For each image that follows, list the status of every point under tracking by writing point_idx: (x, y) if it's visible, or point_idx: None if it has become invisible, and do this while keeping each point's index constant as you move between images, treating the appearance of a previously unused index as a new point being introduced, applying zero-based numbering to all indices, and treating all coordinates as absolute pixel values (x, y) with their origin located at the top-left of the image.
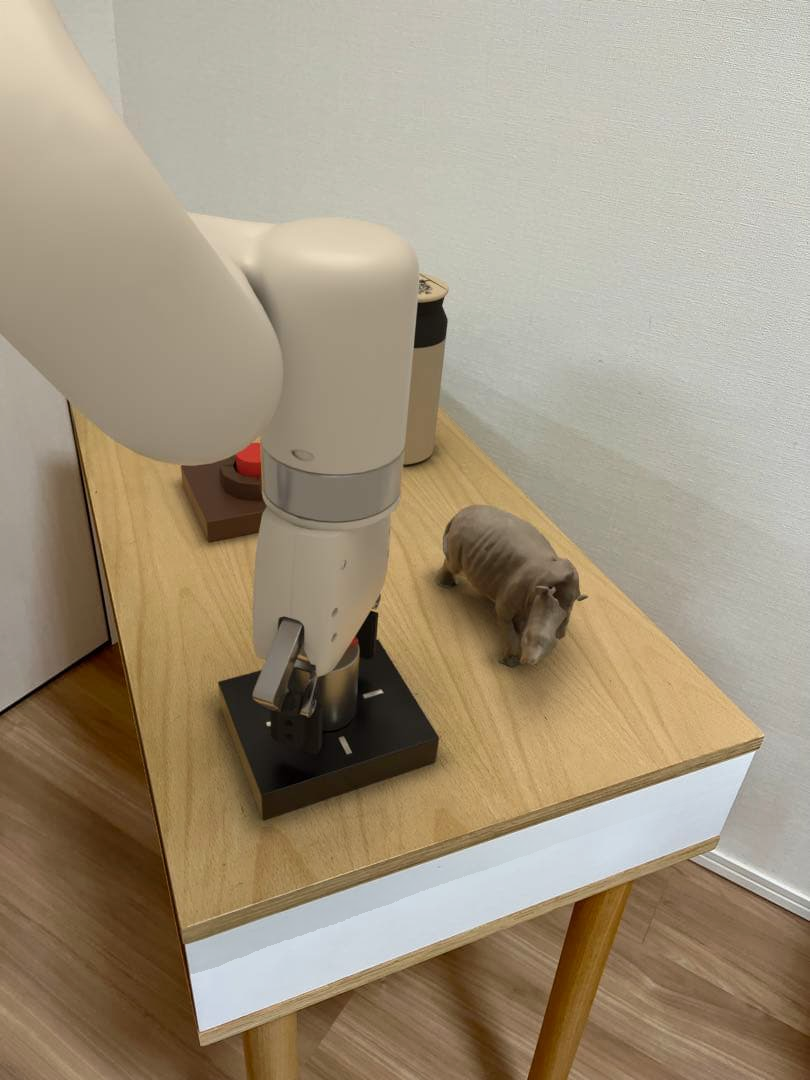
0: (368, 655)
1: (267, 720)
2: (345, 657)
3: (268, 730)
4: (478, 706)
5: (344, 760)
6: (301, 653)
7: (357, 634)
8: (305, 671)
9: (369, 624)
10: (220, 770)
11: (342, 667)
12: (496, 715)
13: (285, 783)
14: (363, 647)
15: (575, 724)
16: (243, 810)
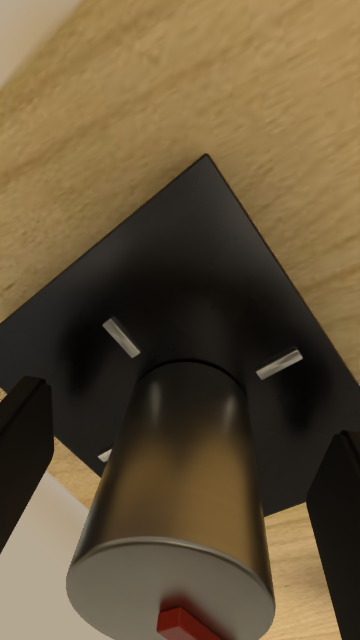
0: (310, 507)
1: (122, 316)
2: (147, 637)
3: (97, 326)
4: (294, 533)
5: (88, 451)
6: (116, 556)
7: (336, 547)
8: (79, 540)
9: (342, 625)
10: (59, 222)
11: (106, 633)
12: (281, 548)
13: (5, 382)
14: (319, 519)
15: (281, 605)
16: (7, 289)
